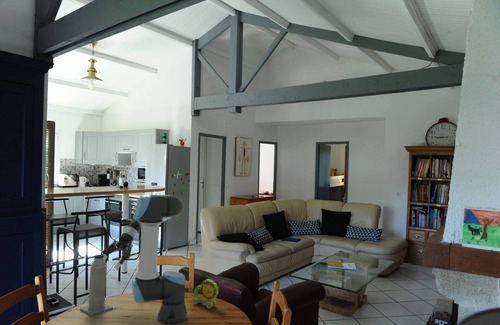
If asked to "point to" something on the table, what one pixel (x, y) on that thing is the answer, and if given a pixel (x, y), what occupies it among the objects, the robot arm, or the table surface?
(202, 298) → the toy lion
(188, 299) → the table surface
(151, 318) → the table surface
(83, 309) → the gray square plate
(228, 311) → the table surface
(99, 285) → the thermos bottle
